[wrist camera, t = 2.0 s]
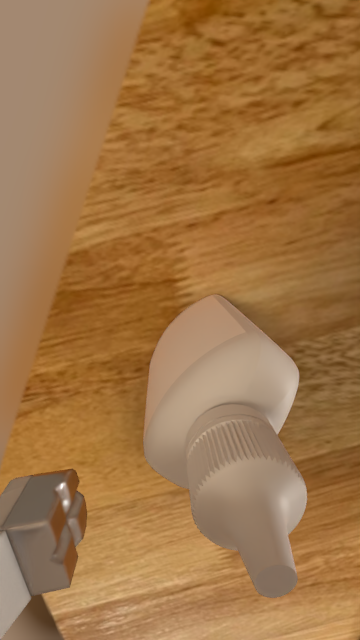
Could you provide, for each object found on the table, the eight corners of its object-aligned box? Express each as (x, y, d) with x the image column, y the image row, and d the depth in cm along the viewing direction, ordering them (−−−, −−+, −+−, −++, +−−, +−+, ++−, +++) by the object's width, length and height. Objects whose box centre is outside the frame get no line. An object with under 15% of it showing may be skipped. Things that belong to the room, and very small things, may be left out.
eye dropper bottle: (131, 322, 16) (49, 541, 4) (231, 285, 16) (427, 406, 4) (161, 391, 17) (161, 713, 5) (254, 357, 17) (462, 614, 5)
